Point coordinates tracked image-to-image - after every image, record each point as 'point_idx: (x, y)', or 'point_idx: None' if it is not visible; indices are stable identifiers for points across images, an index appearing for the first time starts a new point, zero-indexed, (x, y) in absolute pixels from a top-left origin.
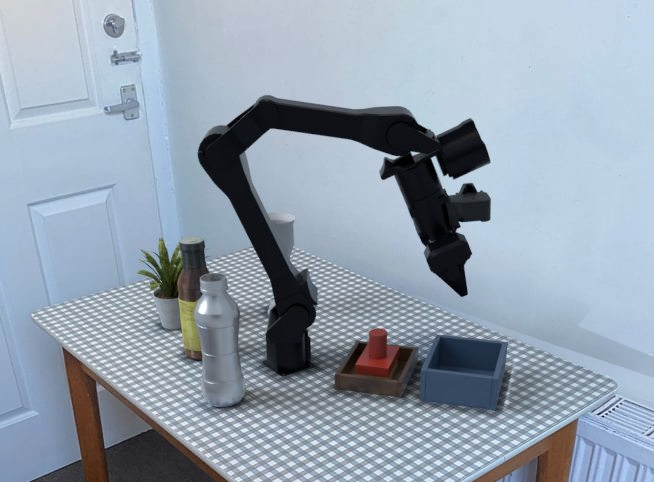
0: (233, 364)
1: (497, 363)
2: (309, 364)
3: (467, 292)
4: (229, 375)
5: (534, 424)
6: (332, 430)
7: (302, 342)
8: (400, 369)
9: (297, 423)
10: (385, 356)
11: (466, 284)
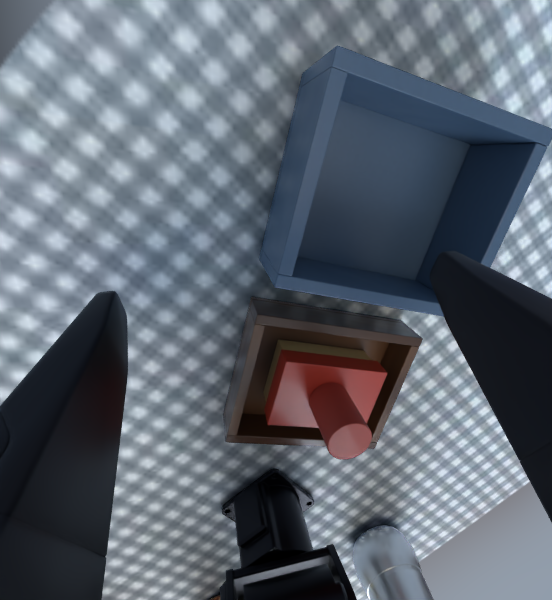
0: (429, 597)
1: (477, 117)
2: (273, 479)
3: (463, 256)
4: (425, 582)
5: (537, 45)
6: (468, 405)
7: (293, 532)
8: (292, 332)
9: (442, 449)
10: (340, 385)
11: (517, 282)
